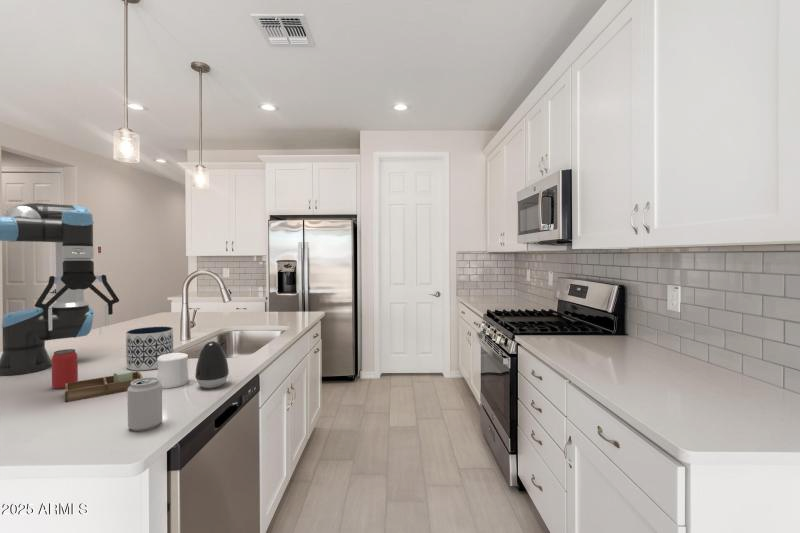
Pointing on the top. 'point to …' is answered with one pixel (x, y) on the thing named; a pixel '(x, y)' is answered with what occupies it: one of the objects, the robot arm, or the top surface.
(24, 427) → the top surface
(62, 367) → the beer can
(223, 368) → the egg shaped speaker
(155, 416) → the can
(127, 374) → the sage block
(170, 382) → the cup
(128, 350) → the planter
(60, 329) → the robot arm
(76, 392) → the tray
